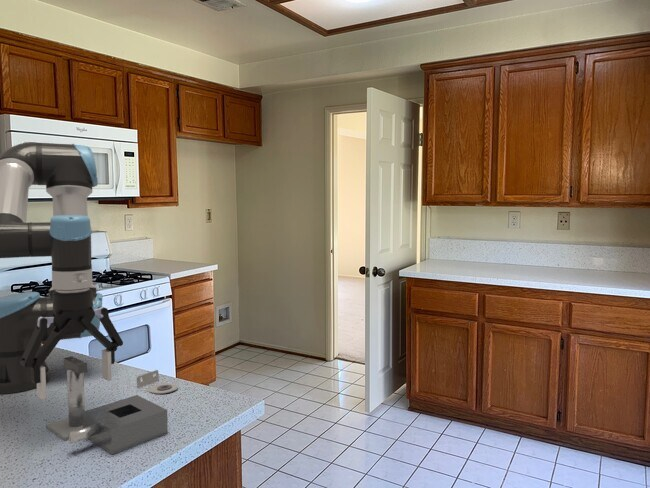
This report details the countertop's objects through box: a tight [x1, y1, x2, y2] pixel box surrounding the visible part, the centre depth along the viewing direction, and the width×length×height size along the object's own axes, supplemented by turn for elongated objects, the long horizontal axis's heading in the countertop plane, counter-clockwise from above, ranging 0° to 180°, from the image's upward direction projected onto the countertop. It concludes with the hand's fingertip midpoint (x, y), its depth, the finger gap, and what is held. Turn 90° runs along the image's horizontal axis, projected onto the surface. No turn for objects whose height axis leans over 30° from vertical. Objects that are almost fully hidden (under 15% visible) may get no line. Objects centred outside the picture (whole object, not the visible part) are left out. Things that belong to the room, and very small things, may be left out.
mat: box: [45, 417, 83, 441], centre depth 108 cm, size 9×9×1 cm
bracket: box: [136, 369, 179, 395], centre depth 130 cm, size 7×10×4 cm, turn 57°
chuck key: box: [62, 356, 88, 427], centre depth 107 cm, size 7×3×14 cm, turn 50°
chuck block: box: [68, 394, 169, 455], centre depth 103 cm, size 12×17×5 cm
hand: (75, 387), depth 107 cm, fingers open, 13 cm apart
